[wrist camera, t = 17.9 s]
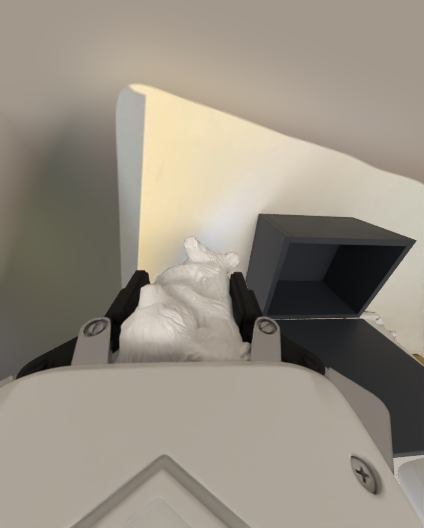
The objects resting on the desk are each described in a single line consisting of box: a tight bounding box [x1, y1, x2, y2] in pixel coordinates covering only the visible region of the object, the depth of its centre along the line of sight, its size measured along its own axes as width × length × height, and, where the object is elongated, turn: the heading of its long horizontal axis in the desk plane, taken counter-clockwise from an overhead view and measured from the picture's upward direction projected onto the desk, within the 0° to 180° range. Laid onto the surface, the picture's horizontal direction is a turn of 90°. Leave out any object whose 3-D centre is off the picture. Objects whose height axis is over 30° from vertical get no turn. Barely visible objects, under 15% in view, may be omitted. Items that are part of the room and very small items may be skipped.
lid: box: [274, 318, 424, 458], centre depth 21 cm, size 14×17×6 cm
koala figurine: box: [111, 236, 251, 364], centre depth 10 cm, size 8×7×12 cm
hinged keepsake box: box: [246, 214, 416, 319], centre depth 27 cm, size 14×17×10 cm
